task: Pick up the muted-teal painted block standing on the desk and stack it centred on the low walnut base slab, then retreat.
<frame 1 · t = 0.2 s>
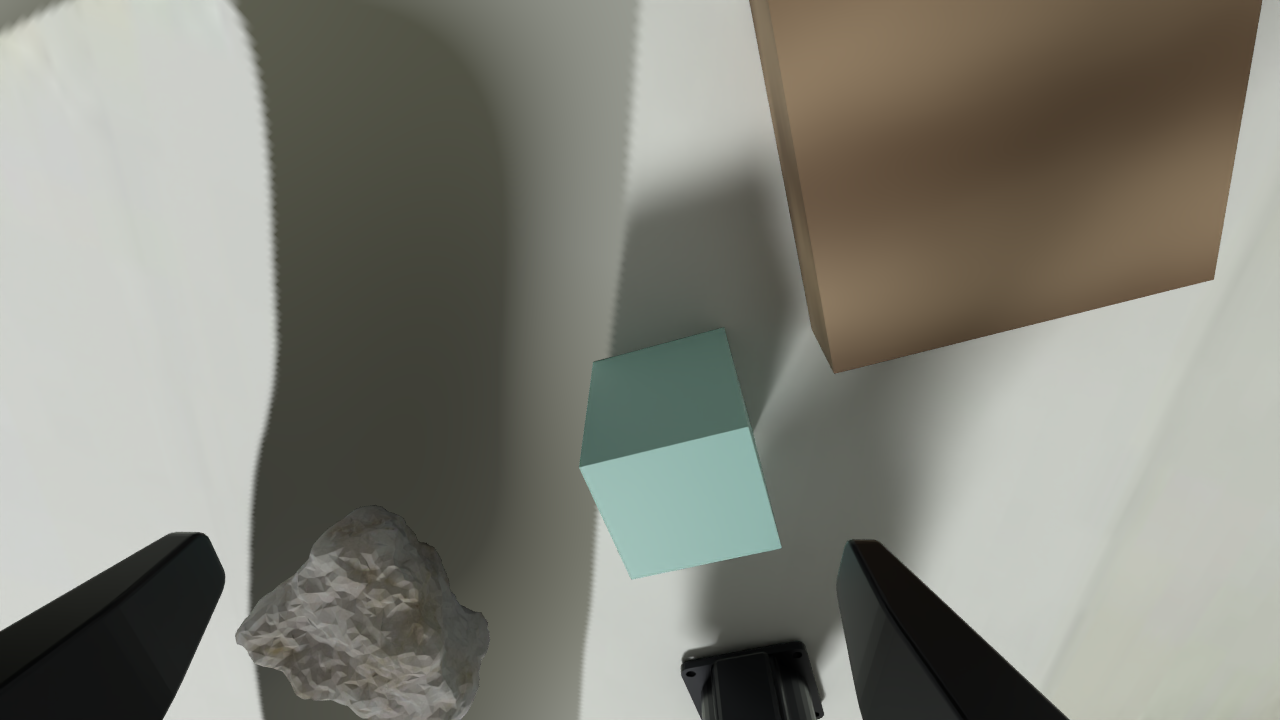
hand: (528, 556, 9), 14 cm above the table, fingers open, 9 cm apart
stone: (405, 572, 29), on the table
walnut base: (963, 128, 19), on the table
teal block: (675, 398, 24), on the table
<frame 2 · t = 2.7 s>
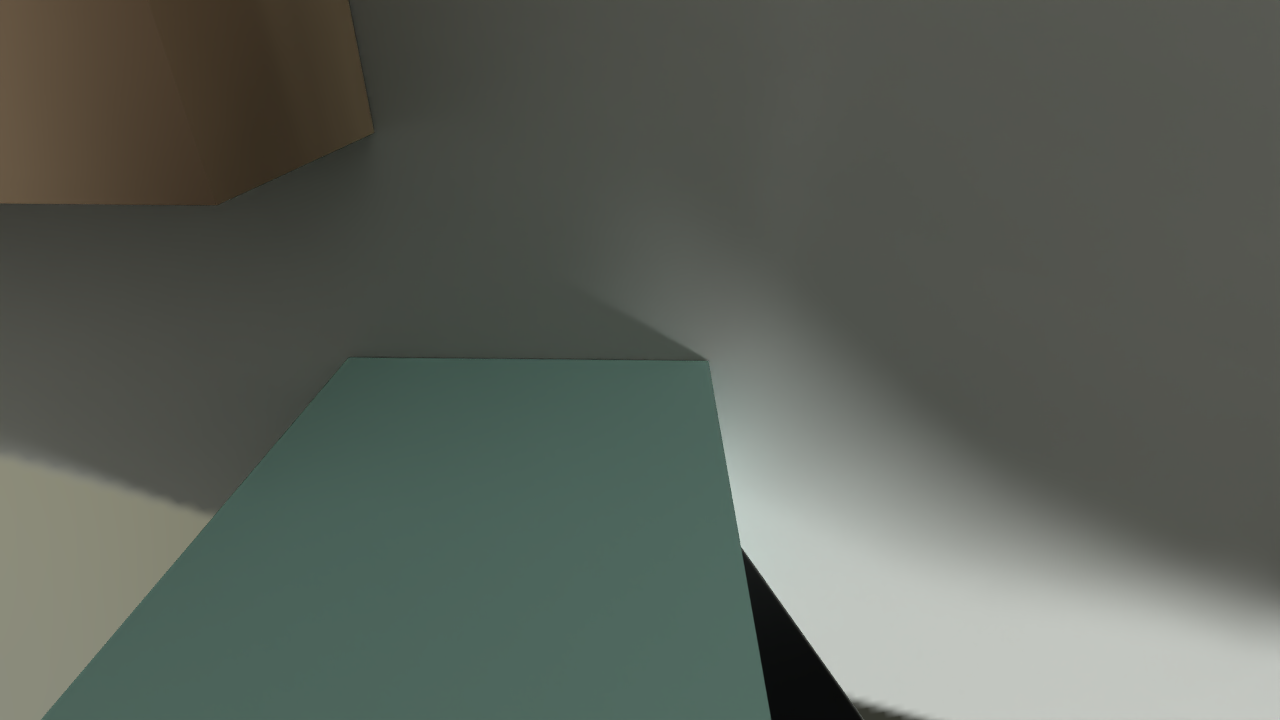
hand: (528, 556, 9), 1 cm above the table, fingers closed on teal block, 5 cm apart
teal block: (541, 495, 10), on the table, touching gripper
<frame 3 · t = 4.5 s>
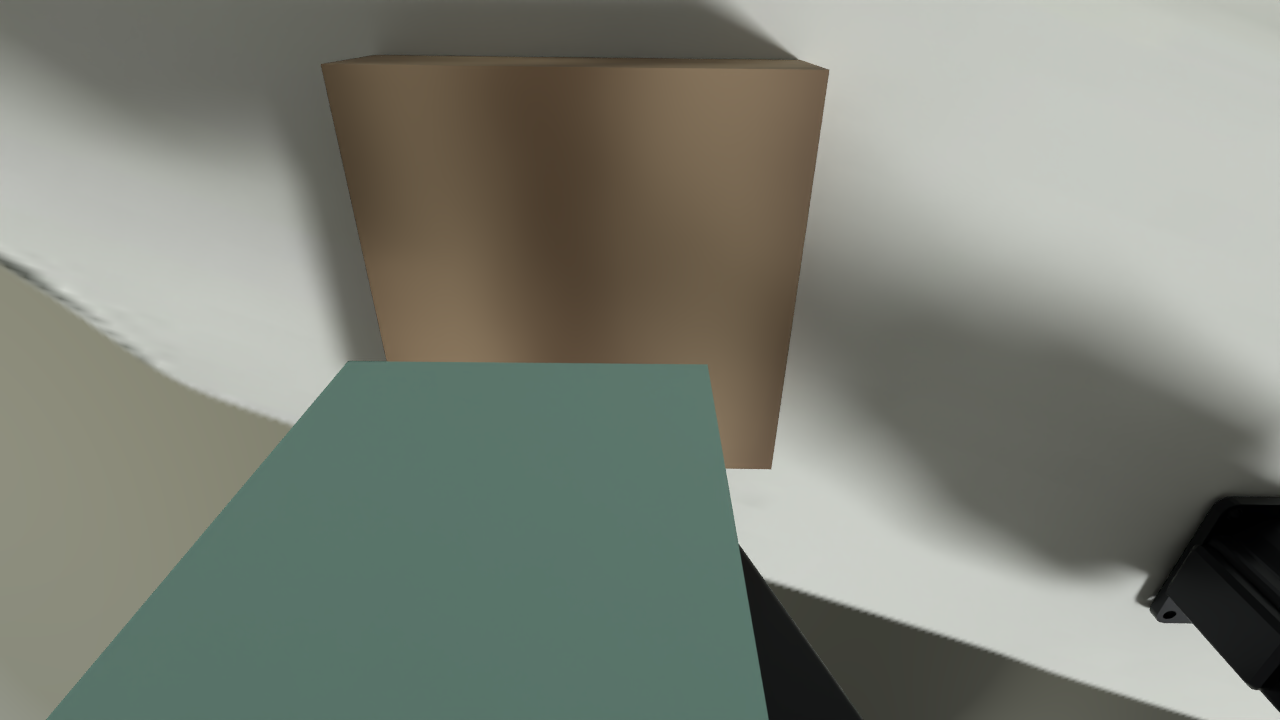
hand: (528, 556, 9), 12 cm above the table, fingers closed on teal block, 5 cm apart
walnut base: (592, 259, 19), on the table
teal block: (540, 499, 10), point 10 cm above the table, touching gripper
when the fingers open (5 cm above the table, at t = 6.3 s): teal block drops 1 cm, resting on walnut base.
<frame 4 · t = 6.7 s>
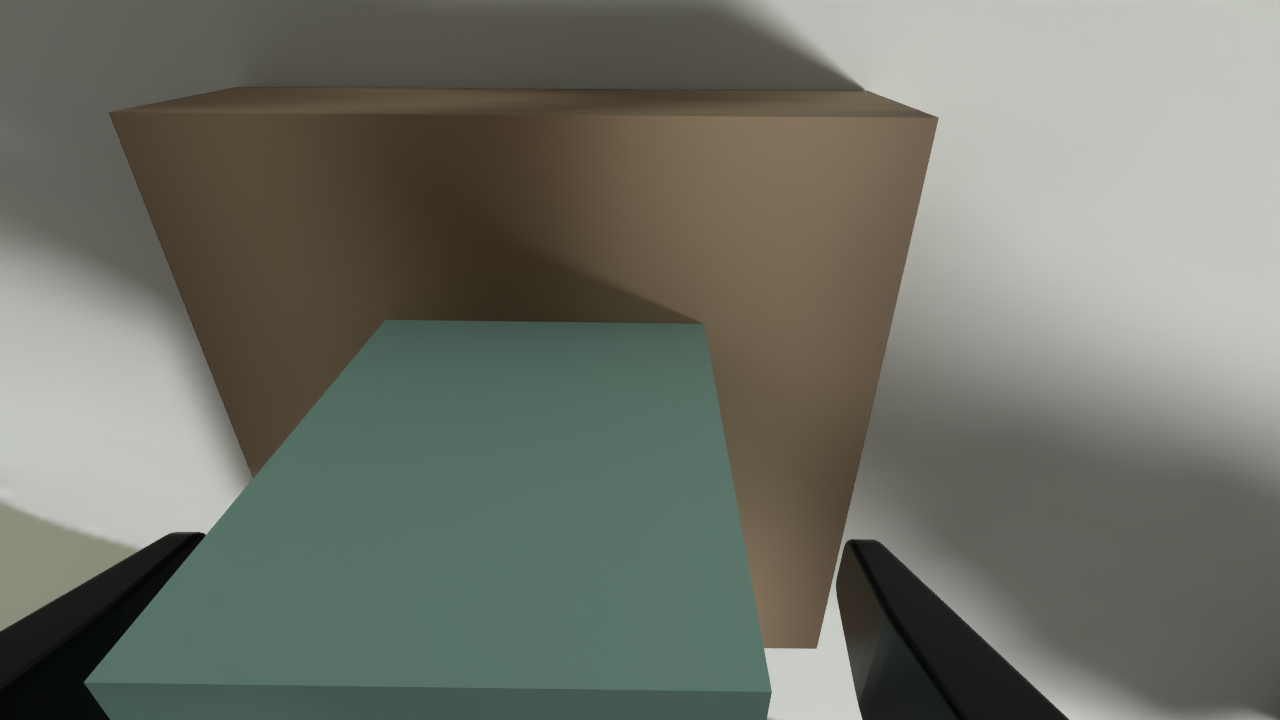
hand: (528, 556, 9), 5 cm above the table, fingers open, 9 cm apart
walnut base: (568, 362, 14), on the table
teal block: (554, 448, 11), point 3 cm above the table, touching walnut base
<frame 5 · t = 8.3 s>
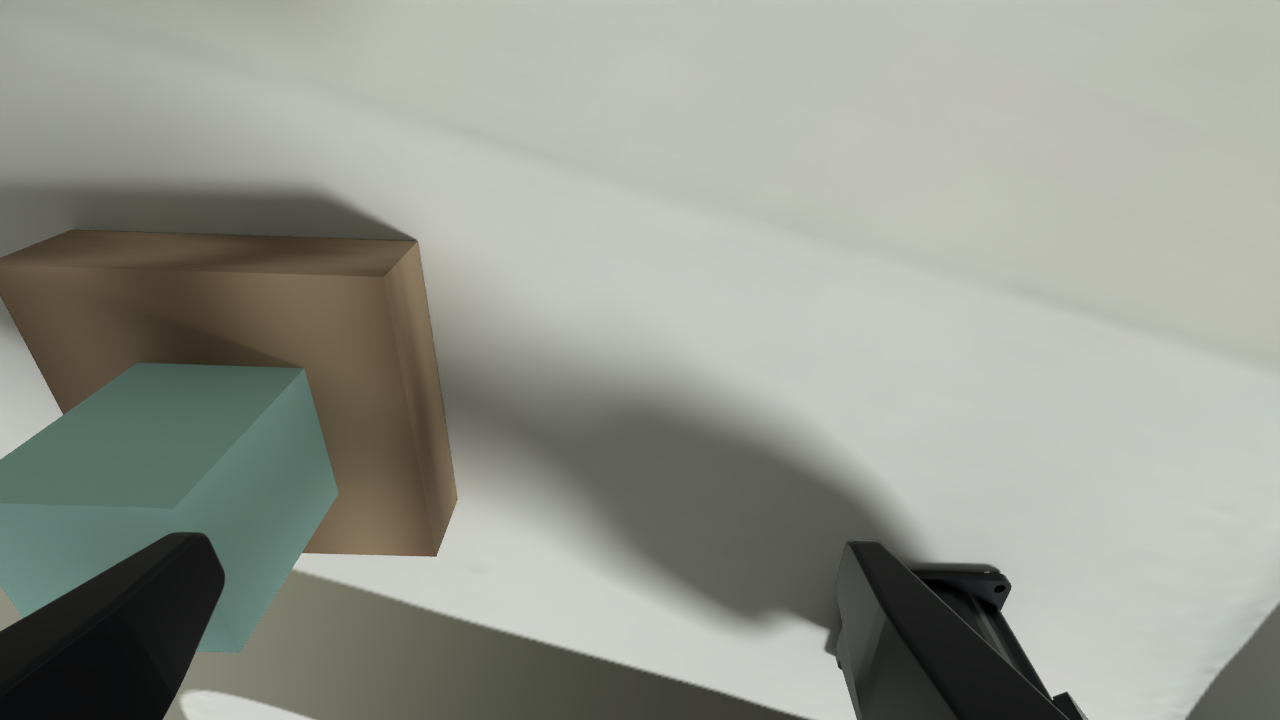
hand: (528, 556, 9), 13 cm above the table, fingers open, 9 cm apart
walnut base: (288, 381, 22), on the table
teal block: (244, 432, 20), point 3 cm above the table, touching walnut base
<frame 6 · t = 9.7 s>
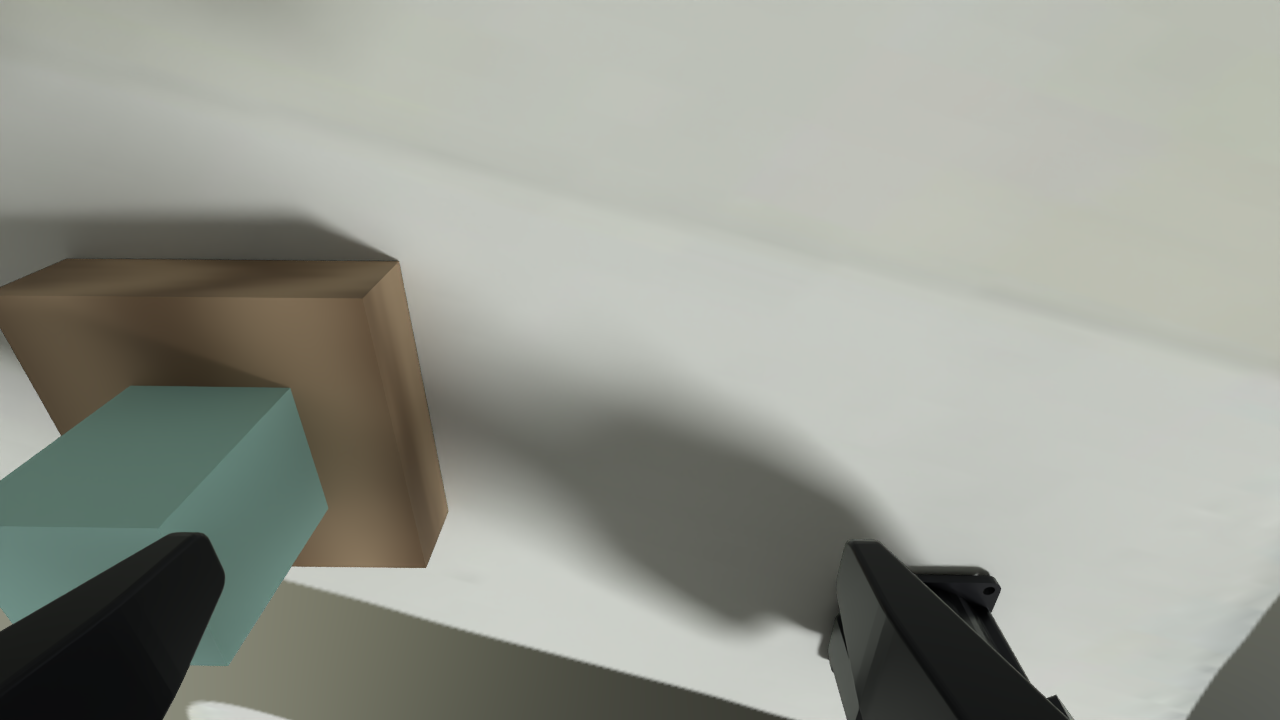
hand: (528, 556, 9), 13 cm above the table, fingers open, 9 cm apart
walnut base: (279, 399, 23), on the table
teal block: (235, 450, 21), point 3 cm above the table, touching walnut base
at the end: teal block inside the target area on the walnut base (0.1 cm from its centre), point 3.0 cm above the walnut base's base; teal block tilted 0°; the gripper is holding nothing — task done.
